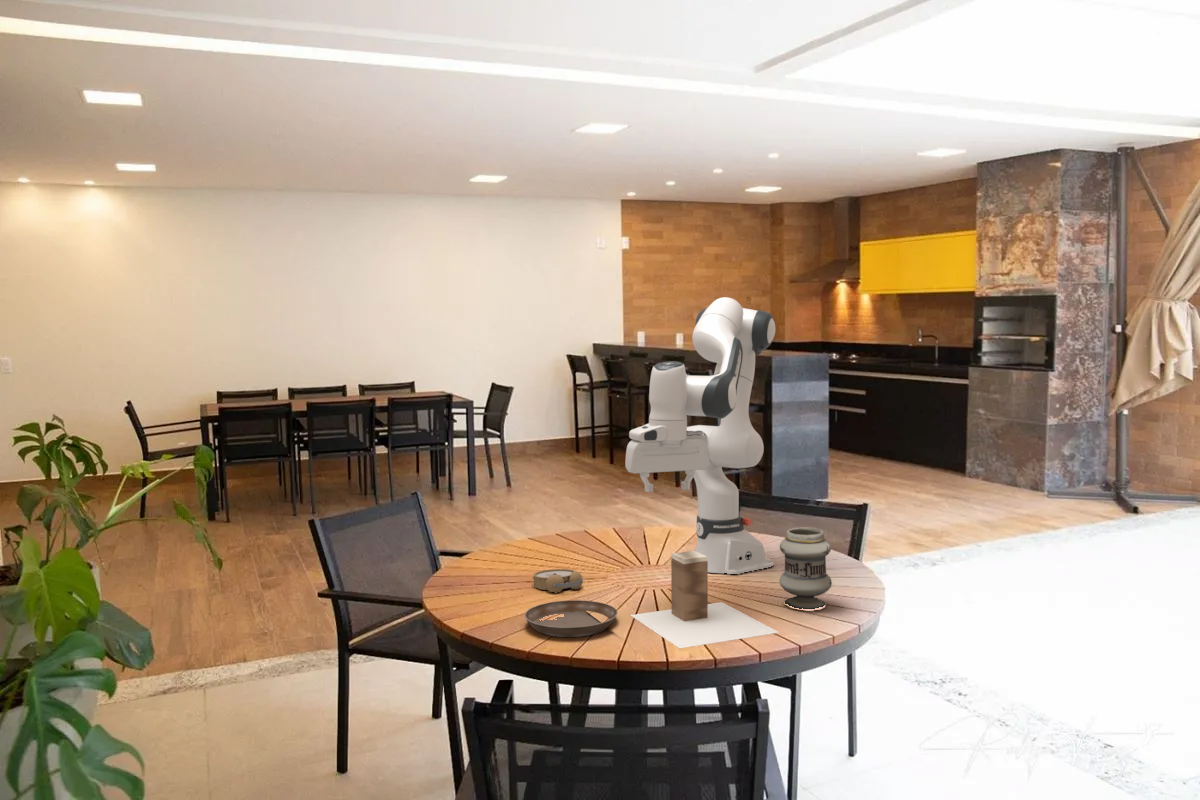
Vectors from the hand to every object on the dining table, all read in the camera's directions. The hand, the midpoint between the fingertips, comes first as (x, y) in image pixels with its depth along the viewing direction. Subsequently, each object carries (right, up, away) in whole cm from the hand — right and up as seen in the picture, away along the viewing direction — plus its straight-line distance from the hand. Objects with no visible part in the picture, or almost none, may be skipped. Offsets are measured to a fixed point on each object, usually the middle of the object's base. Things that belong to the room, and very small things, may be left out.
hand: (667, 490), depth 216 cm
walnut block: (+5, -28, -7) cm, 29 cm away
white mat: (+7, -29, -12) cm, 32 cm away
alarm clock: (-26, -27, +20) cm, 43 cm away
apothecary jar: (+33, -28, +3) cm, 43 cm away
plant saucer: (-22, -30, -10) cm, 38 cm away
